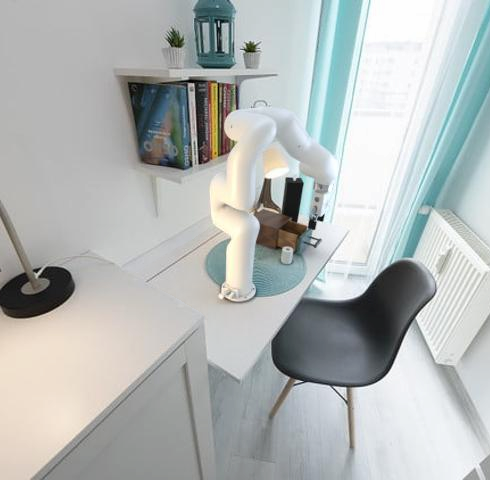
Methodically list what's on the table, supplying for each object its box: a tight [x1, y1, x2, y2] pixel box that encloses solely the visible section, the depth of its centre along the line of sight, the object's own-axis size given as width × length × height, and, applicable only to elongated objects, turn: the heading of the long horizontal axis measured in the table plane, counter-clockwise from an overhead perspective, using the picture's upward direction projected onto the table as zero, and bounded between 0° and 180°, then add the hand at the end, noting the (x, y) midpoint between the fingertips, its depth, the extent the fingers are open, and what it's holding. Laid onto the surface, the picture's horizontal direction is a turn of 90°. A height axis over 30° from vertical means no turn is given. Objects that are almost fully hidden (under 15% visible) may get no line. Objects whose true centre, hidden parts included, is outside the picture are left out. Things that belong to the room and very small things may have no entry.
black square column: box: [280, 172, 305, 223], centre depth 147 cm, size 8×8×28 cm
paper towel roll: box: [280, 247, 294, 265], centre depth 123 cm, size 5×5×6 cm
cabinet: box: [253, 208, 292, 250], centre depth 138 cm, size 16×15×11 cm
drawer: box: [276, 221, 323, 256], centre depth 131 cm, size 20×14×9 cm, turn 57°
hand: (315, 224), depth 124 cm, fingers open, 9 cm apart
